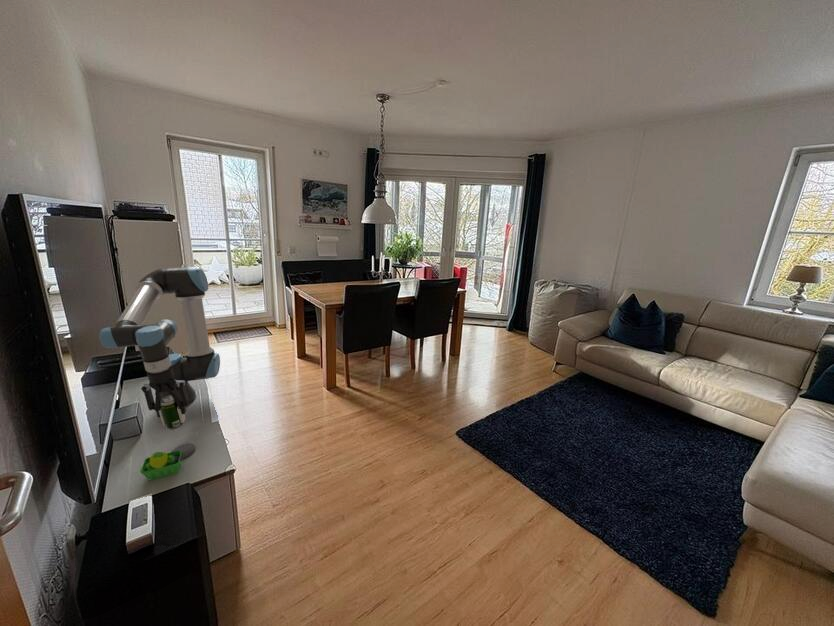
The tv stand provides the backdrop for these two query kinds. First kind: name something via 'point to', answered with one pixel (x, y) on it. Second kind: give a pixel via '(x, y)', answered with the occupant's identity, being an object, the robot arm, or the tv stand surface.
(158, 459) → the fruit basket
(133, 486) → the tv stand surface
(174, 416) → the beer can
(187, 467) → the tv stand surface
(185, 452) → the coaster
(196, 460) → the tv stand surface
